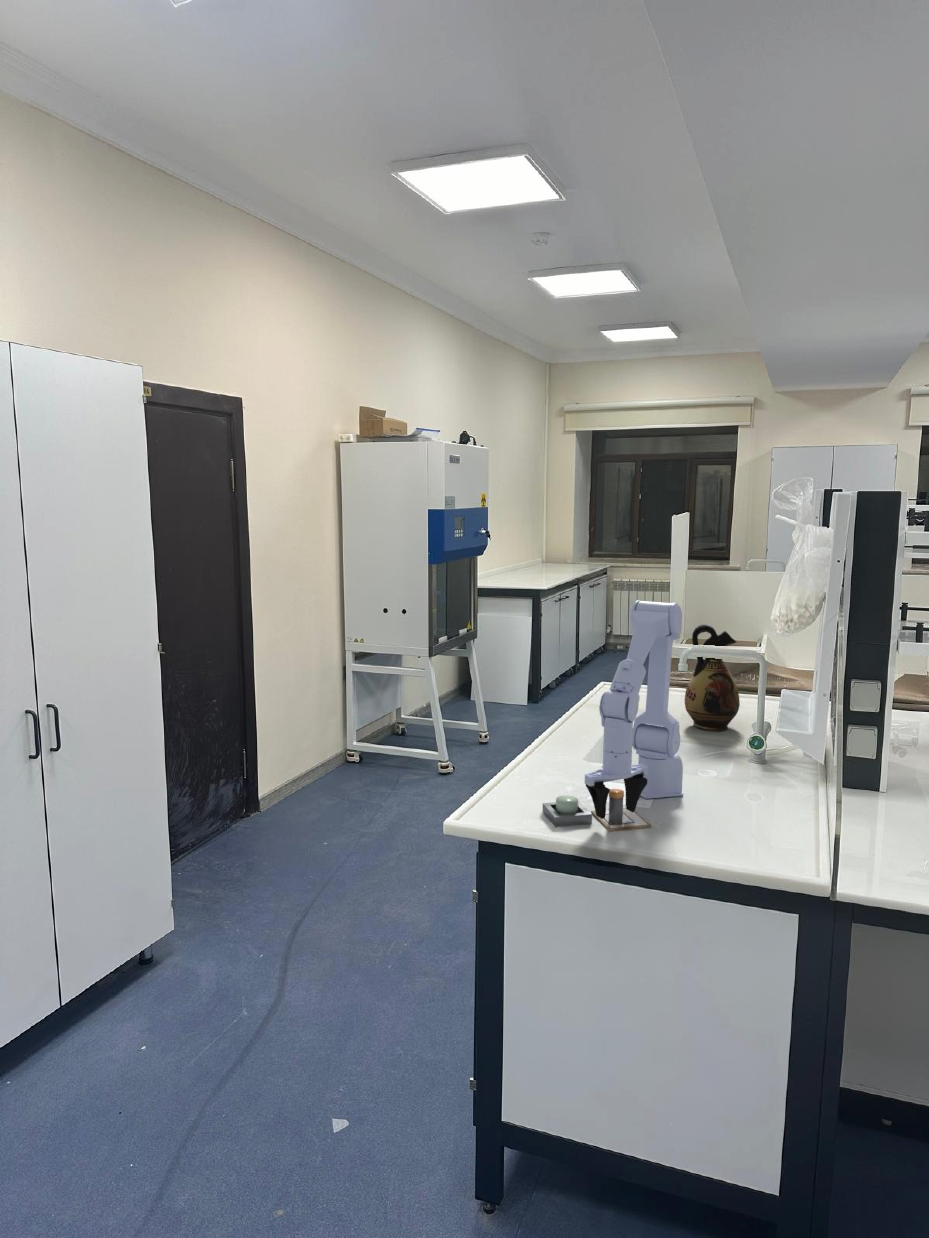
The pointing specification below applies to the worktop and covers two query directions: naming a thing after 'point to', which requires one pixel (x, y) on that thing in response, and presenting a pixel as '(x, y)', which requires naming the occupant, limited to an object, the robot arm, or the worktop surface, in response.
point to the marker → (616, 806)
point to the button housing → (567, 815)
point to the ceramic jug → (712, 687)
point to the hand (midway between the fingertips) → (615, 813)
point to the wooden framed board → (624, 821)
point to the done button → (566, 805)
